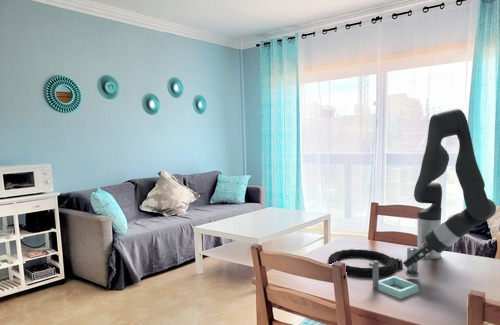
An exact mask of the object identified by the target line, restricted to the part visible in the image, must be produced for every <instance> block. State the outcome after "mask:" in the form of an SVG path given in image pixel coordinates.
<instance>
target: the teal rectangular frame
mask: <svg viewBox="0 0 500 325" xmlns="http://www.w3.org/2000/svg"><path fill="white" fill-rule="evenodd" d="M368 266H369V267H370V268H373V277H372V290H374V291H380V292H382V293H385V294H388V295H390V296H391V297H394V298H397V299H400V300H401V299H403V298H406V297H409V296H412V295H415V294H417V293H419V284H417V283H415V282H412V281H409V280H405V279H403V278H401V277H398V276H395V275H393V276H389V277H387V278H383V279H381V280H379V279H380V278H379V277H380V276H379V267H380V262H379V260H375V259H373V260H372V262H368ZM393 285H396V286H399V287H401V289H398V288H396V287H393Z"/></svg>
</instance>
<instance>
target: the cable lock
mask: <svg viewBox="0 0 500 325" xmlns="http://www.w3.org/2000/svg"><path fill="white" fill-rule="evenodd" d="M363 257H364V258H363ZM348 258H363V259H371V260H376V261H380V262H381V263H384V264H385V265H383V266H379V277H385V276H387V275H390V274H392V273H394V272H395V271H397V270H400V269H403V266H404V264H403V260H402V259H399V258H395V257H391V256H389V255H387V254H385V253H383V252H379V251H376V250H375V251H374V250H368V249H356V248H355V249H354V248H351V249H349V248H348V249H342V250H338V251H335V252H333V253H331V254H330V256H328V258H327V263H328V265H329V264H332V263H334V262H336V261H339V260H343V259H348ZM345 265H346V264H345ZM346 272H347V275H346V276H354V277H359V278H373V267H360V266H351V265H348V264H347V265H346Z"/></svg>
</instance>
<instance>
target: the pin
mask: <svg viewBox="0 0 500 325" xmlns="http://www.w3.org/2000/svg"><path fill="white" fill-rule="evenodd" d="M416 250H418V249H417V247H407V248H406V259H409V258H410V256H412V255H414V254H415V253H414V252H415V251H416ZM414 258H415V259H416V257H414ZM416 260H417V259H416ZM418 262H419V261H418ZM418 262H417V263H413V264H412V265H410V266H409V267H406V271H405V275H406V277H409V278H418V277H420V273H419V272H418V271H419V270H418V267H419V265H418Z"/></svg>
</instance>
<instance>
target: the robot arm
mask: <svg viewBox="0 0 500 325" xmlns="http://www.w3.org/2000/svg"><path fill="white" fill-rule="evenodd" d="M452 136H457V140H458V143H459V144H458V145H459V148H458V153H457V157H456V160H455V166H454V167H455V174H456V177H457V180H458V182H459V185H460V187H461V190H462V194H463V195H462V196H463V200H464V204H465V208H464V209H463V210H462V211H461V212H458V213H455V214H454V215H453V216H451V217H449V218H448V219H447V220H446V221H444V222H443V223H442V222H441V221H442V220H441V216H442V200H443V187H442V185H441V184H440V183H439V182H434V181H436V180H437V179H438V178H440V177H442V175H443V174H445V172H446V171H447V168H448V165H449V161H450V156H449V153H448V151H447V149H446V148H445V147H444V146H443V145H442V142H443V139H444V138H448V137H452ZM426 138H427V140H426V145H425V150H424V153H423V157H422V161H421V167H420V171H419V172H420V173H419V176H418V178H417V181H416V183H415V186H414V192H413V198H414V200H415V202H417V203H419V204H431V205H430V206H428V207H426V208H424V209H420V210H418V212H417V247H416V249H418V250H416V251H415V252H414V253H415V254H414V255H412V256H410V258H409V259H407V258H406V260H405V261H404V262H403V261H402V262H403V266H405V268H407V267H409V266H410V265H412V264H413V263H417V262H419V261H420V260H421V261H422V260H423V259H428V260H437V259H440V258H441V256H442V253H443V252H444V251H445V250H447V249H449V248H450V247H451V246H452V245H454V244H455V243H457V242H458V241H459V240H460V239H461V238H462V237H464V236H465V235H466V234H468V233H469V232H471V231H472V230H473V229H474V228H476V227H477V226H479V225H482V224H483V223H484V222H486V221H487V220H489V219H491V218H492V217H493V216H494V215H495V214H496V211H497V206H496V203H495V202H494V201H493V200H491V199H489V198H488V196H487V192H486V190H485V187H486V185H485V181H484V178H483V175H482V173H481V170H480V167H479V165H478V163H477V162H478V161H477V158H476V154H475V150H474V144H473V140H472V136H471V131H470V127H469V122H468V119H467V117H466V115H465V113H464V111H463V110H462V109H460V108H453V109H450V110H449V109H448V110H444V111H439V112H437V113H434V114H432V115H431V117H430V119H429V123H428V131H427V137H426ZM414 257H416V259H417V260H416V259H415V258H414Z"/></svg>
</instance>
